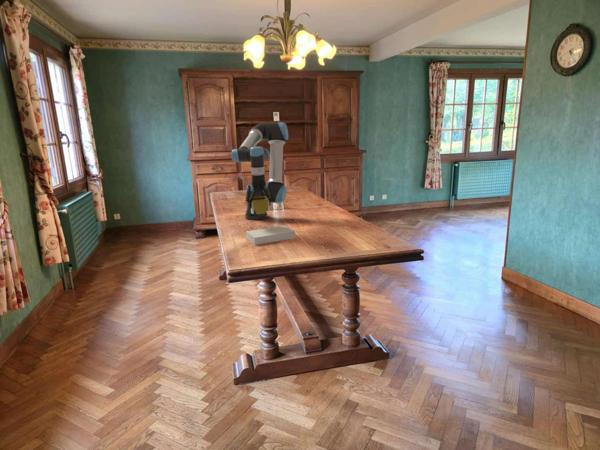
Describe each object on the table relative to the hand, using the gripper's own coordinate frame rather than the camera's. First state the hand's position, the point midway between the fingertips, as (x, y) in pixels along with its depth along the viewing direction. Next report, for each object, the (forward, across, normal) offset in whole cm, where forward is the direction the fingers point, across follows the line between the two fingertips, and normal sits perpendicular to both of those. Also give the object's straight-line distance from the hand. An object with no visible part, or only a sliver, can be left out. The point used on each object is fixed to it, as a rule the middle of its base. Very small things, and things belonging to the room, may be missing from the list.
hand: (260, 212), depth 228 cm
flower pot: (+1, 0, 0) cm, 1 cm away
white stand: (+12, 0, -16) cm, 19 cm away
